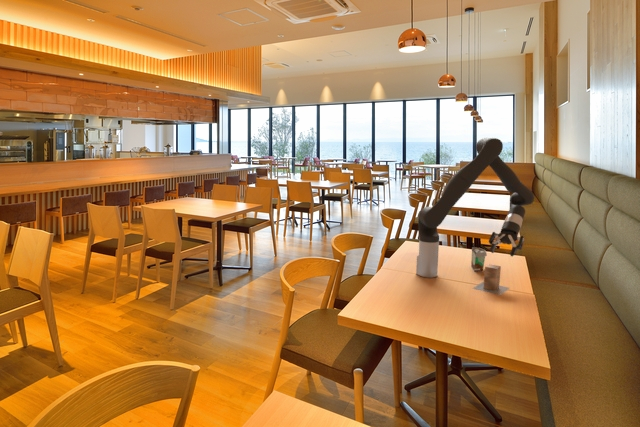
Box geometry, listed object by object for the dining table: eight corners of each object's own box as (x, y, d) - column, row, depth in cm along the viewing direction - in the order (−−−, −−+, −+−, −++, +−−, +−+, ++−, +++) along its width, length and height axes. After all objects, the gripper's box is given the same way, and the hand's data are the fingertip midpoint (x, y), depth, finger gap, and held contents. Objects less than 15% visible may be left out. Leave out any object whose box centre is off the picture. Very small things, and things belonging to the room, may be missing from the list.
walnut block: (483, 288, 181) (485, 266, 179) (487, 285, 185) (489, 264, 183) (494, 291, 178) (496, 268, 176) (499, 288, 181) (500, 266, 180)
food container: (487, 273, 202) (489, 253, 200) (474, 272, 203) (476, 253, 202) (483, 266, 214) (484, 247, 212) (470, 265, 215) (471, 247, 214)
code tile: (472, 288, 181) (472, 288, 181) (482, 281, 190) (482, 281, 190) (500, 295, 173) (500, 295, 173) (510, 288, 182) (510, 287, 182)
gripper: (494, 218, 195) (484, 246, 189) (527, 222, 185) (516, 252, 179) (498, 227, 200) (487, 255, 193) (529, 232, 190) (519, 261, 184)
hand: (501, 253), depth 186 cm, fingers open, 8 cm apart
